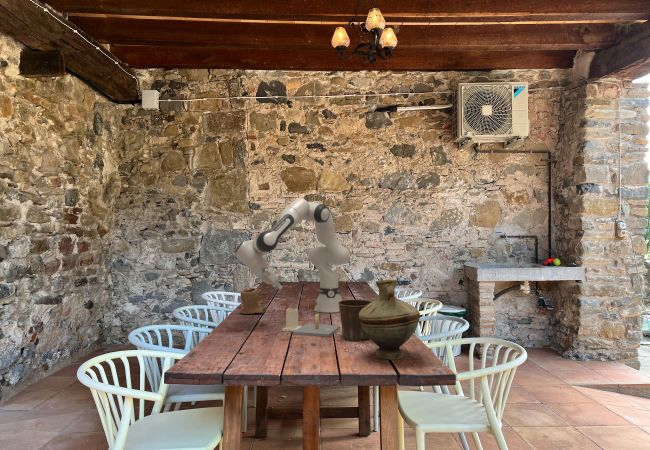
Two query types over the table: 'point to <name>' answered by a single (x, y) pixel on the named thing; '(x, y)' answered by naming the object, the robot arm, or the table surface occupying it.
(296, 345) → the table surface
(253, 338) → the table surface
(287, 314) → the collar
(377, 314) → the brown ceramic vase
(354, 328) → the plant pot
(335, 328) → the post plate
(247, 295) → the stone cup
